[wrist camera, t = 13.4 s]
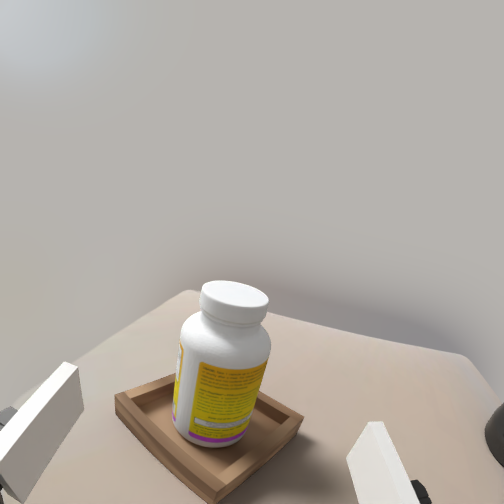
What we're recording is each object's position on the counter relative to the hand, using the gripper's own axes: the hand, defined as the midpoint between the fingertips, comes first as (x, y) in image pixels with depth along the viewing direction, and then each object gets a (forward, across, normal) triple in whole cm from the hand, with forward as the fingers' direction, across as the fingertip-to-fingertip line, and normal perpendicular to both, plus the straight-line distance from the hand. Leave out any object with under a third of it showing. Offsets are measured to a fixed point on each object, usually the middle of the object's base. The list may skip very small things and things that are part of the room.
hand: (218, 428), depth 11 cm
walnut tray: (+10, 0, -11) cm, 15 cm away
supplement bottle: (+10, 0, -10) cm, 14 cm away
